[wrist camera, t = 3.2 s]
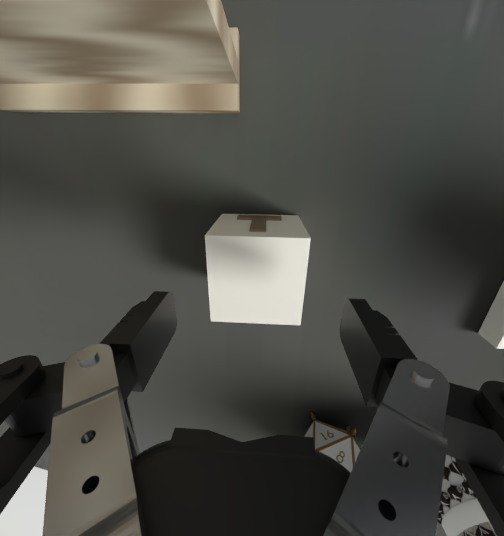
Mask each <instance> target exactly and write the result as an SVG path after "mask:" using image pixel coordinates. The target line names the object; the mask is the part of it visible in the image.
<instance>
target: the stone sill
mask: <svg viewBox="0 0 504 536" xmlns="http://www.w3.org/2000/svg"><path fill="white" fill-rule="evenodd" d="M478 334H480V335H481V336H482V337H483V338H485V339H486V340H487V341H488V342H489V343H491V344H492V345H493V346H494V347H495V348H498V349H504V281H503V283H502V285H501V287H500V289H499V291H498V293H497V295H496V297H495V299H494V301H493V303H492V306H491V308H490V310H489V312H488V314H487V316H486V318H485V320H484V322H483V324H482V326H481V328H480V330H479V332H478Z"/></svg>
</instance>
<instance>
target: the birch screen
mask: <svg viewBox="0 0 504 536" xmlns="http://www.w3.org/2000/svg"><path fill="white" fill-rule="evenodd" d="M0 110H4V111H9V112H85V113H240V64H239V32H238V28H229V27H228V23H227V20H226V16H225V13H224V9H223V6H222V3H221V0H0Z"/></svg>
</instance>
